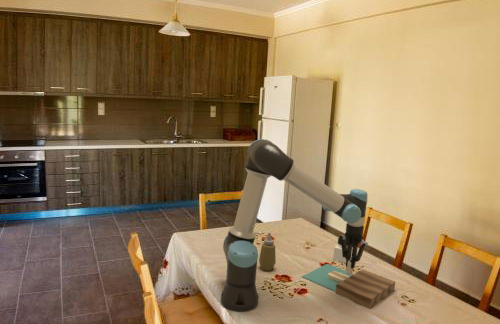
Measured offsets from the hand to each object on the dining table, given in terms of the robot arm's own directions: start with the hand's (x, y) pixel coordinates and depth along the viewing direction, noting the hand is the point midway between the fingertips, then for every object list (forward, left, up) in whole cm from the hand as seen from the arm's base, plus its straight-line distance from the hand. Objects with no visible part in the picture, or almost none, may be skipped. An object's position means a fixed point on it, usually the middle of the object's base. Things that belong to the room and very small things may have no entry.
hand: (349, 273), depth 176 cm
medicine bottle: (+23, +16, -5) cm, 29 cm away
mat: (0, +9, -5) cm, 10 cm away
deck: (0, -9, -5) cm, 10 cm away
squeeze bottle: (-17, +34, -5) cm, 39 cm away
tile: (0, +5, -5) cm, 7 cm away
